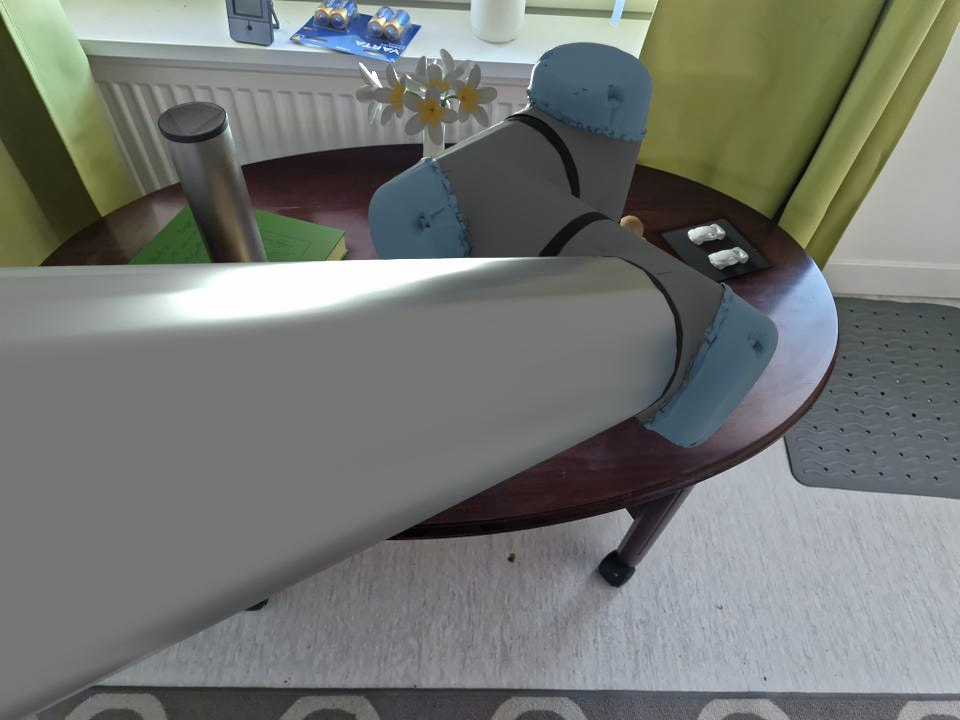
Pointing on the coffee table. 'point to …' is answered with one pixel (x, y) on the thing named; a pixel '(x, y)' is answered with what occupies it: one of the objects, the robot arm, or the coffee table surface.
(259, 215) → the book
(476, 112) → the flower vase
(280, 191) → the coffee table surface
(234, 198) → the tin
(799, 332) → the coffee table surface
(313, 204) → the coffee table surface
